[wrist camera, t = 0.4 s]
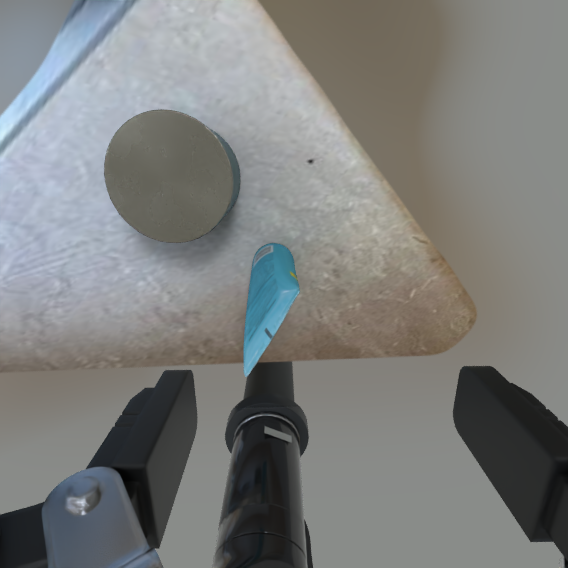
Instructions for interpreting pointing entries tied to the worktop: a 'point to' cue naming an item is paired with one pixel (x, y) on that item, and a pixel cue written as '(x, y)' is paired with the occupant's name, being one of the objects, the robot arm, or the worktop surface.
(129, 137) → the tea tin
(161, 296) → the worktop surface
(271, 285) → the tube
